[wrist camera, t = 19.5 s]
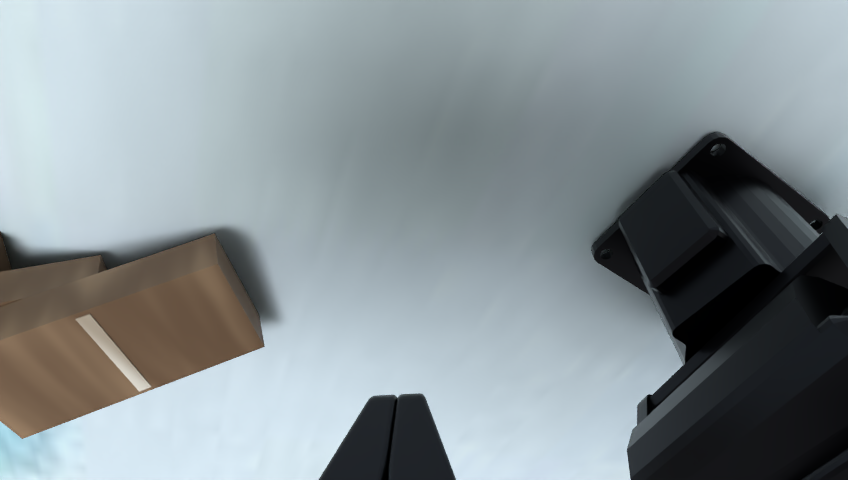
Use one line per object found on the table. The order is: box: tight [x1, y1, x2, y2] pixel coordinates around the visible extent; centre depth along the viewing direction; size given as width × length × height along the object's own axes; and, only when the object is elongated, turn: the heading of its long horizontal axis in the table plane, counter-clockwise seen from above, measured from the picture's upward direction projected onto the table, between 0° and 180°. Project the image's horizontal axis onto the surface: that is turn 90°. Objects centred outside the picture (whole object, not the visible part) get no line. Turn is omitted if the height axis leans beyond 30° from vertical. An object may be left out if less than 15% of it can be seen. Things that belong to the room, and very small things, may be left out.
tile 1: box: [0, 233, 264, 439], centre depth 22 cm, size 2×5×10 cm
